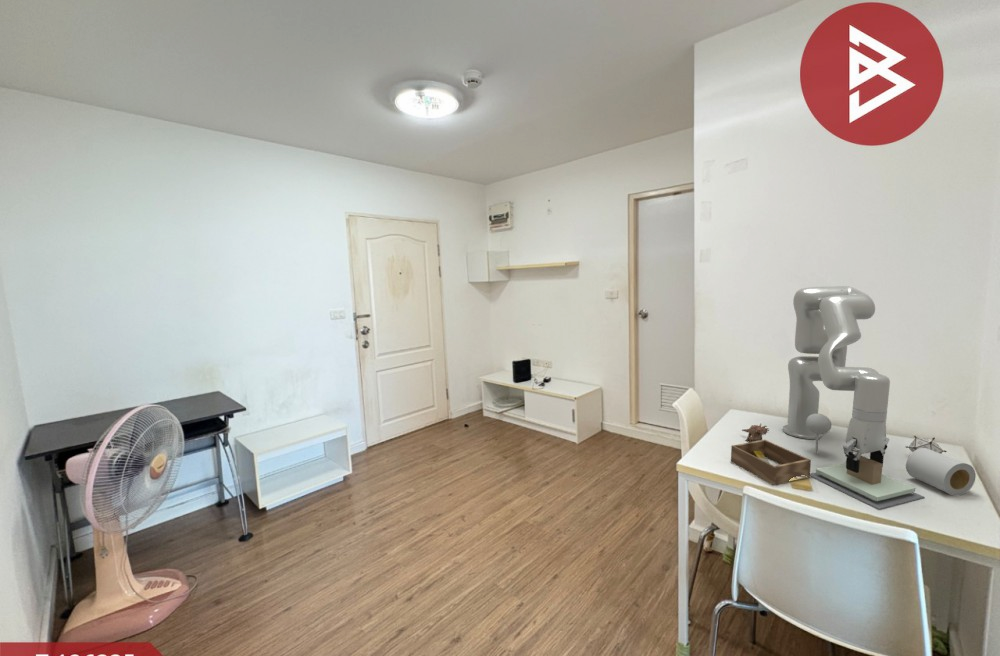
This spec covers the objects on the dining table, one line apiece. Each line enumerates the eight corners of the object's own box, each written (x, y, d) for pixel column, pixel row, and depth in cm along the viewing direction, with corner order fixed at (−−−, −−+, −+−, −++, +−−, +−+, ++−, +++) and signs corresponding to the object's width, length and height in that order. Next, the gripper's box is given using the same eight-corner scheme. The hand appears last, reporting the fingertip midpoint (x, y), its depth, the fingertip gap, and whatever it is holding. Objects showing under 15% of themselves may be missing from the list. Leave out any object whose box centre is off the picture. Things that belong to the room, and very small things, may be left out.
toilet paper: (973, 494, 116) (977, 461, 114) (942, 497, 115) (946, 464, 113) (933, 476, 126) (936, 446, 124) (904, 479, 125) (907, 449, 123)
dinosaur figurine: (773, 451, 147) (775, 427, 145) (756, 451, 147) (758, 427, 146) (754, 435, 160) (755, 414, 159) (739, 435, 161) (740, 414, 159)
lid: (850, 467, 132) (852, 444, 131) (914, 495, 116) (917, 468, 115) (815, 475, 128) (817, 451, 127) (876, 504, 112) (879, 477, 111)
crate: (763, 455, 144) (764, 439, 143) (809, 477, 128) (810, 460, 127) (730, 461, 140) (731, 445, 140) (773, 485, 124) (774, 467, 124)
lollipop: (824, 450, 145) (827, 411, 143) (832, 459, 139) (836, 418, 137) (800, 448, 148) (803, 409, 146) (808, 457, 141) (811, 416, 139)
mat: (848, 466, 134) (848, 465, 134) (924, 498, 115) (924, 496, 115) (807, 475, 129) (807, 474, 129) (879, 510, 110) (879, 508, 110)
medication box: (772, 478, 129) (773, 467, 128) (762, 477, 130) (763, 466, 129) (760, 461, 140) (761, 450, 140) (751, 460, 141) (752, 450, 140)
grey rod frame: (925, 468, 137) (943, 445, 136) (939, 471, 130) (958, 446, 129) (894, 451, 141) (912, 428, 141) (906, 452, 134) (925, 429, 133)
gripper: (875, 406, 124) (870, 458, 127) (833, 414, 120) (829, 467, 123) (905, 414, 117) (899, 469, 120) (861, 423, 113) (856, 479, 115)
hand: (864, 468), depth 121 cm, fingers open, 9 cm apart
